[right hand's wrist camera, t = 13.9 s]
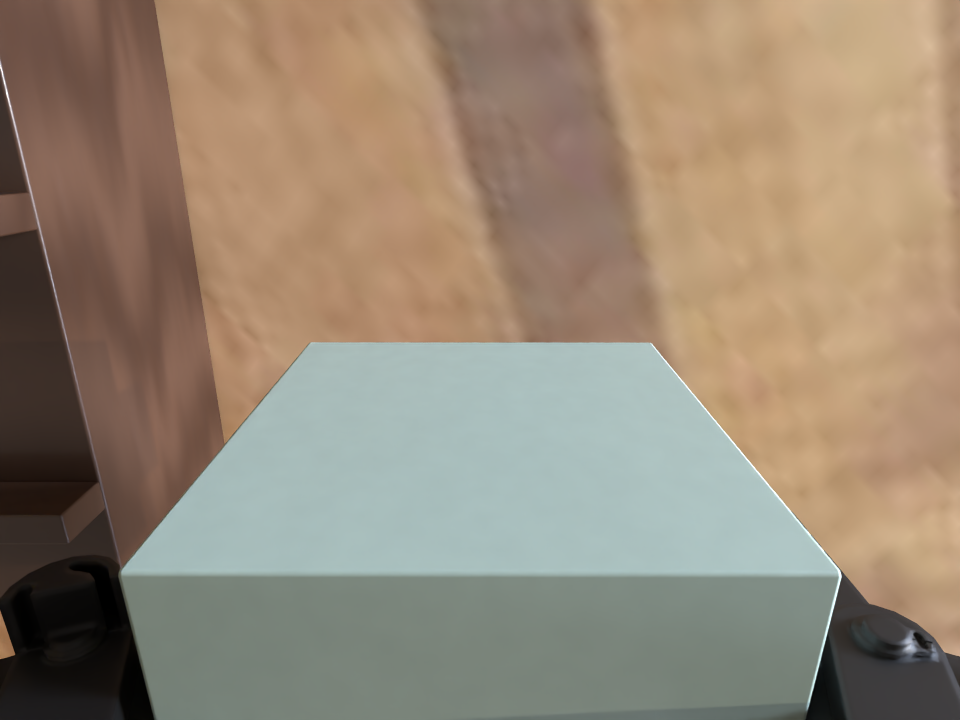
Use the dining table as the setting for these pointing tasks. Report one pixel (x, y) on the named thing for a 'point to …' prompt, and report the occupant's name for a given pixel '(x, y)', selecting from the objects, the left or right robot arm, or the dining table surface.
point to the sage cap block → (479, 550)
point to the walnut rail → (94, 288)
